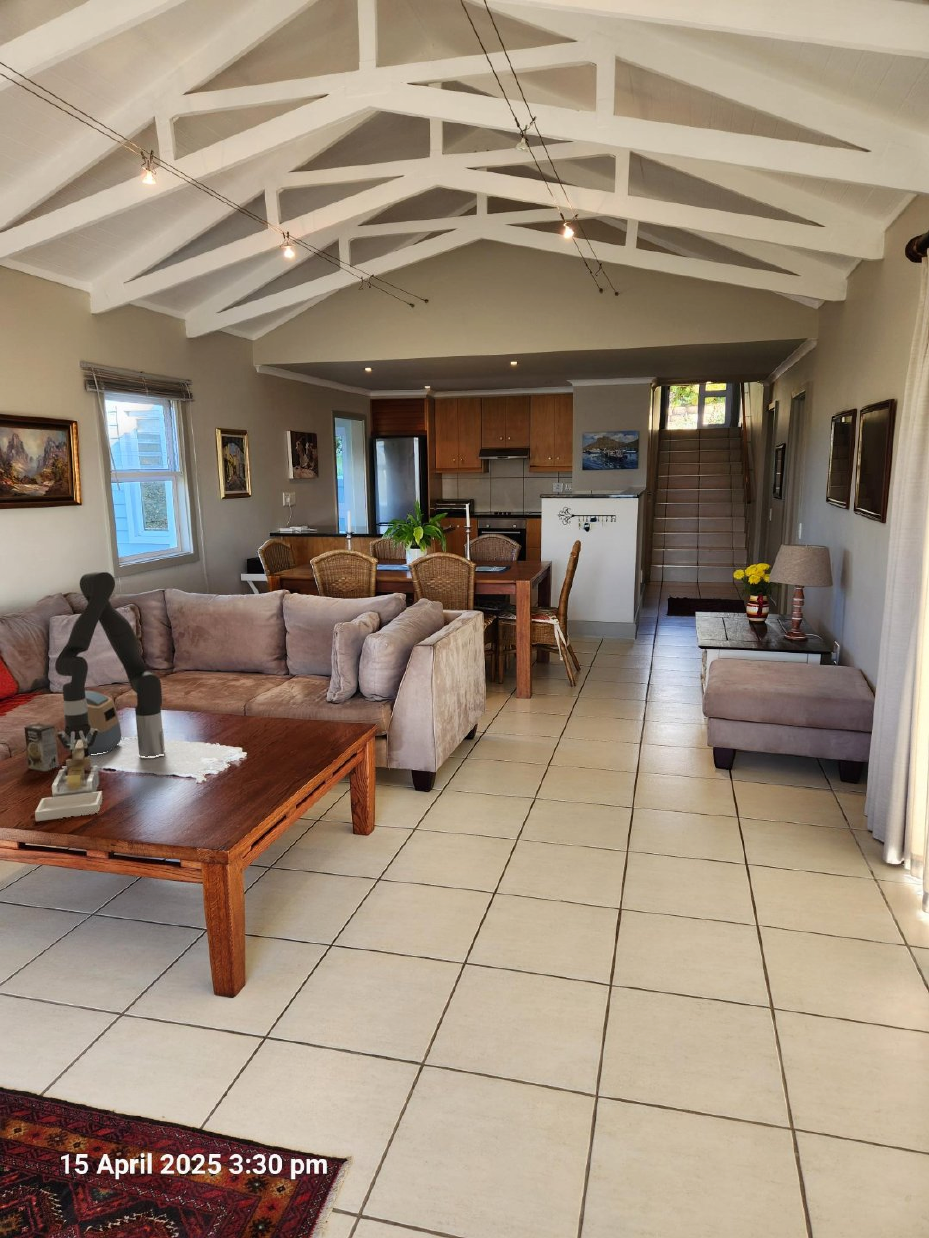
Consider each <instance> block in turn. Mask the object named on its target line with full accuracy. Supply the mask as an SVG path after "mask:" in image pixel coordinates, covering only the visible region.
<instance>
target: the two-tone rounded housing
mask: <svg viewBox="0 0 929 1238" xmlns="http://www.w3.org/2000/svg"><path fill="white" fill-rule="evenodd" d="M85 696H86V702H87V709H88V719H89V725H90V726H91V728H93V729H99V731H98V733H97V736H96V738H95V741H94V743H93V745H92V746H89V756H92V755H91V754H97V753H103V752H107V751H109V750H110V749H111V748H113V747H114V748H116V747H117V746H118V745H119V743H120V742H121V740H122V739H121V738H122V731H121V723H120V722H119V717H118V711H117V707H116V704H115V702H114V700H113V699H112V698H111V697H109V696H108V695H105V694H103V693H100V692H97V691H93V690H85ZM92 736H93V735H92V734H91V731H89V733H88V734H87V741H88V742H90V741H91V738H92ZM65 739H66V740H67V742H68V743H69V744H70V741H71V738H70V737H69V736H68V735H67V734H66V733H65ZM78 740H81V739H77V740H76V741H75V746H76V744H77V742H78ZM117 744H118V745H117ZM116 745H117V746H116ZM115 746H116V747H115ZM114 748H113V749H114ZM67 750H68V752H70V753H71V750H70V749H69V748H67ZM111 750H112V749H111ZM111 750H110V751H111ZM110 751H109V752H110ZM107 753H108V752H107Z"/></svg>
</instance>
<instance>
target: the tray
mask: <svg viewBox="0 0 929 1238" xmlns="http://www.w3.org/2000/svg"><path fill="white" fill-rule="evenodd" d="M102 799H103V791H102V790H100V791H99V790H98V791H96V792H91V793H82V794H74V795H66V796H57V797H53V796H49V797H44V798H43V797H42V798H41V799H40V802H39V804H38V806H37V808H36V809H35V811H34V817H35V818H34V819H35V822H40V821H49V820H57V819H64V818H63V817H66V818H70V817H71V816H74V817H80V816H81V815H82V816H87V815H89V814H90V815H94V814H95V813H97V814H99V812H100V809H101V806H102V803H103V800H104V799H103V800H102ZM100 805H101V806H100ZM98 811H99V812H98ZM71 818H72V817H71Z"/></svg>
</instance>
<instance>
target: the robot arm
mask: <svg viewBox="0 0 929 1238" xmlns="http://www.w3.org/2000/svg"><path fill="white" fill-rule="evenodd" d="M115 587H116V580H115V577H114V576H113V575H112V574H111V573H110V572H107V571H96V572H89V573H85V574H83V575H82V576H81V577H80V580H79V588H80V591H81V593H82V595H83V597H84V598H85V600H86V601H87V605H86V606H85V608H84V609H83V611H82V613H81V614H80V615H79V617H78V618H77V619H76V620H75V622H74V624H73V626H72V629H71V632H70V635H69V638H68V641H67V642H66V644H65V646H64V647H63V648H62V650H61V652H60V653H59V654H58V656H57V658H56V660H55V663H54V664H55V665H54V668H55V672H56V673H57V674H58V675H59V676H64V677H71V679H70V681H69V682H66V683H64V684H63V686H62V697H63V714H64V723H65V724H64V725H65V728H64V730H62V731H59V732H58V733H57V734H56V738H58V740H59V741H60V743H61V744H62V746H63V748H64V749H66V750H68V748H69V749H70V750H71V752H70V755H71V759H73V756H72V751H73V749H74V747H75V741H76V740H77V739H81V740H82V743H83V745H84V757H87V756H89V757H90V755H89V746H92V745H93V743H94V741H95V738H96V736H97V733H98V731H99V729H93V728H91V726H90V725H89V719H88V709H87V702H86V696H85V691H86V688H85V687H86V682H87V677H88V672H89V665H88V662H87V660H86V659H85V657H82V656H79V654H81V653H85V652H87V651H88V650H89V649H90V645H91V642H92V639H93V635H94V634H95V633H94V632H95V629H96V627H97V624H98V623H100V625H101V627H102V629H103V631H104V633H105V636H106V638H107V640H108V641H109V643H110V645H111V648H112V649H113V651H114V652H115V655H116V656H117V658H118V660H119V662H120V663H121V664H122V666H123V668H124V670H125V674H126V676H127V679H128V682H129V685H130V687H131V689H132V691H133V692H135V693H136V699H137V700H136V701H137V702H136V703H137V705H136V706H135V708H134V711H135V725H136V734H137V735H136V736H137V747H138V756H139V755H140V756H145V757H148V756H156V755H159V754H164V751H165V752H166V749H165V737H164V735H165V734H164V728H163V718H162V704H163V694H162V693H163V691H162V689H163V688H162V682H161V680H160V677H158V675H156V674H154V673H152V672H151V671H150V670H149V668H148V667H147V665H146V664H145V662H144V660H143V658H142V655H141V651H140V645H139V642H138V641H139V640H138V638H137V635H136V634H135V630H134V629H133V627H132V625H131V623H130V621H128V619H127V618H126V617H125V616H124V615H122V614H121V612H119V611H118V610H117V609H116V608H115V607H114V606H113V605H112V603H111V602H110V598H111V597H112V595H113V593H114V591H115ZM89 731H91V734H92V735H93V736H92V738H91V741H90V742H88V741H87V734H88V733H89ZM66 734H67V735H68V736H69V737H70V738H71V741H70V744H69V743H68V742H67V740H66ZM164 755H165V754H164Z"/></svg>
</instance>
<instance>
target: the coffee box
mask: <svg viewBox="0 0 929 1238" xmlns="http://www.w3.org/2000/svg"><path fill="white" fill-rule="evenodd" d="M23 729H24V736H25V737H24V739H25V744H26V753H27V764H28V769H32V770H35V771H36V770H37V771H39V772H40V771H41V772H48V771H50V770H53V769H56V768H58V767H60V766H59V765H60V764H59V755H58V754H59V753H58V746H57V745H58V744H57V743H58V742H57V733H56V725H52V724H47V723H42V722H38V723H35V724H29V725H26V726H25V727H23ZM55 767H56V768H55ZM52 768H53V769H52Z"/></svg>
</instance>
